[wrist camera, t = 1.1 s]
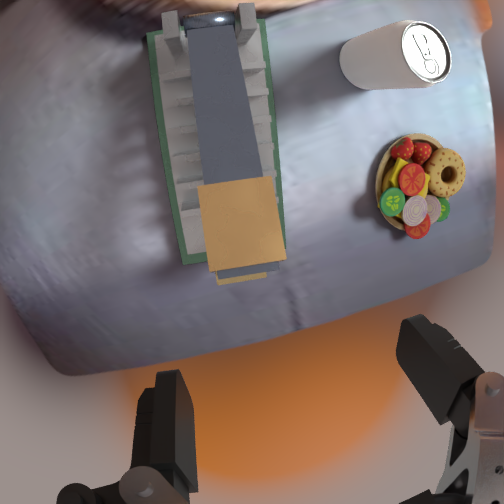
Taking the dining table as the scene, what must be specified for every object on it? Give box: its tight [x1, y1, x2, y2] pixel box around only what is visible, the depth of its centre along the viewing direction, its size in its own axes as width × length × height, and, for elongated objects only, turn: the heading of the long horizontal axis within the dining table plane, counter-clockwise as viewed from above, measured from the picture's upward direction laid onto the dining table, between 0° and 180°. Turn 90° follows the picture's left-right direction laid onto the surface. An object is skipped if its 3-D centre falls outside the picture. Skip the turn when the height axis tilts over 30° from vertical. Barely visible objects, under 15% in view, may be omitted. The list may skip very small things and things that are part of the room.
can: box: [339, 20, 451, 90], centre depth 24 cm, size 6×6×12 cm
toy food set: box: [375, 133, 466, 239], centre depth 36 cm, size 13×13×3 cm
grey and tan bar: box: [183, 10, 286, 280], centre depth 20 cm, size 21×4×2 cm, turn 6°
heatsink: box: [147, 3, 286, 285], centre depth 27 cm, size 26×12×9 cm, turn 6°
